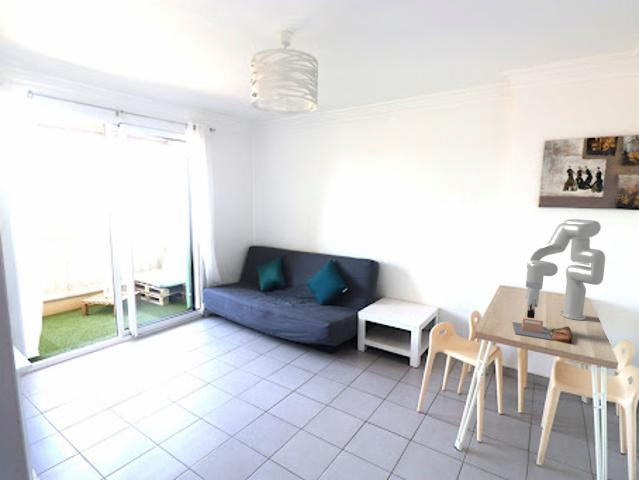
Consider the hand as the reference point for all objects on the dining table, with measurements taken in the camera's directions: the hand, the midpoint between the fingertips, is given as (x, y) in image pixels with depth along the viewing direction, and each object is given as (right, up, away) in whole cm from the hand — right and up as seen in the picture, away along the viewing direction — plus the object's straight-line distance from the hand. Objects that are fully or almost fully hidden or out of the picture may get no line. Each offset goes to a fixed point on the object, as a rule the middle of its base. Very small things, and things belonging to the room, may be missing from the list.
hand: (530, 317), depth 183 cm
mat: (-3, -6, -5) cm, 8 cm away
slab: (-3, -6, -6) cm, 9 cm away
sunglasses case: (+9, -8, -11) cm, 16 cm away
